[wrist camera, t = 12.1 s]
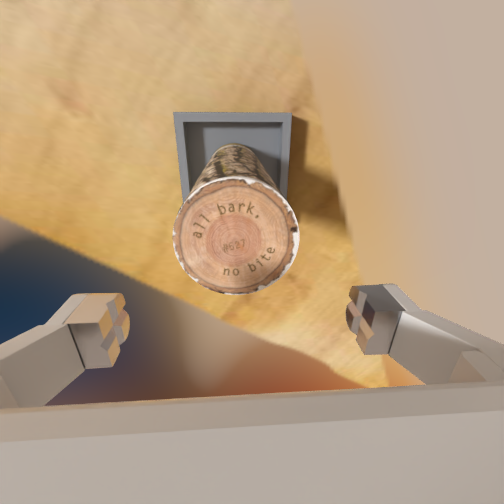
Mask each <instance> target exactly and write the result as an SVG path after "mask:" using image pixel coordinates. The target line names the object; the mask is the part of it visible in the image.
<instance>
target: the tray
mask: <svg viewBox="0 0 504 504" xmlns="http://www.w3.org/2000/svg"><path fill="white" fill-rule="evenodd" d="M173 115H174V124H175V133H176V142H177V151H178V160H179V169H180V178H181V187H182V197H183V203H184V201H185V199H186V198H187V196H188V195H189V193H190V191H191V190H192V188H193V186H194V185H195V183H196V181H197V180H198V178H199V177H200V175H201V173H202V172H203V170H204V168H205V167H206V165H207V163H208V162H209V160H210V159H211V157H212V156H213V154H214V153H215V152H216V150H217V149H219V148H220V147H222V146H223V145H226V144H230V143H238V144H242V145H244V146H246V147H248V148H249V149H251V150H252V151H253V153H254V154H255V155H256V157H257V158H258V159H259V161H260V162H261V164H262V165H263V167H264V168H265V170H266V171H267V172H268V174H269V175H270V177H271V178H272V180H273V181H274V183H275V184H276V185H277V187H278V188H279V190H280V191H281V193H282V194H283V196H284V197H285V198H286V200H287V186H288V169H289V153H290V137H291V120H292V113H236V112H173Z"/></svg>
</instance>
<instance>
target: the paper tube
mask: <svg viewBox="0 0 504 504" xmlns="http://www.w3.org/2000/svg"><path fill="white" fill-rule="evenodd" d="M173 245H174V250H175V253H176V256H177V259H178V261H179V263H180V264H181V266H182V268H183V269H184V270H185V272H186V273H187V274H188V275H189V276H190V277H191V278H192V279H193V280H195V281H196V282H197V283H199V284H200V285H202V286H204V287H205V288H208V289H210V290H212V291H215V292H219V293H223V294H231V295H241V294H249V293H253V292H257V291H259V290H262V289H264V288H266V287H268V286H270V285H272V284H273V283H275V282H276V281H277V280H279V279H280V278H281V277H282V276H283V275H284V274H285V273H286V272H287V270H288V269H289V268H290V266H291V264H292V263H293V261H294V259H295V256H296V253H297V250H298V246H299V227H298V223H297V219H296V217H295V214H294V212H293V210H292V208H291V206H290V204H289V203H288V201H287V200H286V198H285V197H284V196H283V194H282V193H281V191H280V190H279V188H278V187H277V185H276V184H275V183H274V181H273V180H272V178H271V177H270V175H269V174H268V172H267V171H266V170H265V168H264V167H263V165H262V164H261V162H260V161H259V159H258V158H257V157H256V155H255V154H254V153H253V151H252V150H251V149H249V148H248V147H246V146H244V145H242V144H238V143H230V144H226V145H223V146H222V147H220V148H219V149H217V150H216V152H215V153H214V154H213V156H212V157H211V159H210V160H209V162H208V163H207V165H206V167H205V168H204V170H203V172H202V173H201V175H200V177H199V178H198V180H197V181H196V183H195V185H194V186H193V188H192V190H191V191H190V193H189V195H188V196H187V198H186V199H185V201H184V203H183V204H182V206H181V208H180V210H179V212H178V215H177V217H176V220H175V223H174V228H173Z"/></svg>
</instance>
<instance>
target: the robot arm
mask: <svg viewBox="0 0 504 504" xmlns="http://www.w3.org/2000/svg"><path fill="white" fill-rule="evenodd" d="M349 297H350V298H351V300H352V301H351V302H350V303H349V304H348V305H347V308H346V321H347V324H348V327H349V329H350V330H351V331H352V332H353V333H355V334H356V335H357V338H356V341H357V343H358V345H359V346H360V348H361V350H362V352H363V353H364V355H376V354H389V356H390V357H392V358H393V359H394V360H395V361H397V362H398V363H399V364H401V365H402V366H403V367H404V368H406V369H407V370H409V371H410V372H411V373H412V374H413V375H415V376H416V377H418V378H419V379H420V380H421V381H423V382H424V383H425V384H426V385H415V386H414V385H413V386H397V387H380V388H361V389H343V390H325V391H305V392H287V393H269V394H252V395H234V396H217V397H199V398H182V399H166V400H165V399H164V400H147V401H128V402H111V403H93V404H77V405H76V404H75V405H58V406H44V405H45V404H46V403H47V402H48V401H50V400H51V399H52V398H53V397H54V396H55V395H57V394H58V393H59V392H60V391H61V390H62V389H64V388H65V387H66V386H67V385H68V384H69V383H71V382H72V381H73V380H74V379H75V378H76V377H78V376H79V375H80V374H81V373H82V372H83V371H85V369H91V368H103V367H112V366H113V365H114V362H115V360H116V358H117V356H118V354H119V352H120V348H119V345H120V344H121V343H123V342H124V341H125V340H126V338H127V335H128V333H129V327H130V322H129V315H128V313H127V312H126V311H124V310H123V309H122V308H123V307H124V305H125V300H124V297H123V295H122V294H121V293H93V294H92V293H91V294H89V293H87V294H74V295H72V296H71V297H70V298H69V299H68V300H67V301H66V302H65V304H63V305H62V307H61V308H60V309H59V310H58V311H57V312H56V313H55V314H54V315H53V316H52V317H51V318H50V319H49V321H48V322H47V323H46V324H45V325H39V326H37V327H35V328H33V329H31V330H29V331H27V332H25V333H23V334H21V335H19V336H17V337H15V338H13V339H11V340H9V341H7V342H5V343H3V344H1V345H0V504H504V345H503V344H501V343H499V342H496V341H494V340H492V339H490V338H487V337H485V336H483V335H481V334H478V333H476V332H474V331H472V330H470V329H467V328H465V327H463V326H461V325H458V324H456V323H454V322H451V321H449V320H447V319H445V318H443V317H440V316H438V315H436V314H434V313H431V312H429V311H426V310H421V309H420V308H419V307H418V306H417V305H416V304H415V303H414V302H413V301H412V300H411V299H410V298H409V297H408V296H407V295H406V294H405V293H404V292H403V291H402V290H401V289H400V288H399V287H398V286H397V285H395V284H379V285H362V286H352V287H351V289H350V293H349Z"/></svg>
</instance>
